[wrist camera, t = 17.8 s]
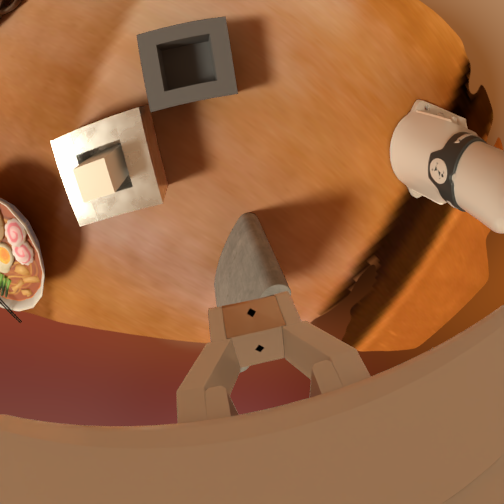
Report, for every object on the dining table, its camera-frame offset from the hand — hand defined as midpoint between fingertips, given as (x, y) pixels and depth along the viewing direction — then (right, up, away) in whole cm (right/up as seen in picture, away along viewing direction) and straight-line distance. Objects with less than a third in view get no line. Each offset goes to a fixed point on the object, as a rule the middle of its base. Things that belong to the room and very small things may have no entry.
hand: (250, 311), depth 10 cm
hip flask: (-3, +2, +36) cm, 36 cm away
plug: (-18, +15, +23) cm, 33 cm away
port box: (-19, +15, +24) cm, 34 cm away
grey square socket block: (-8, +26, +19) cm, 33 cm away
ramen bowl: (-43, +5, +25) cm, 50 cm away
